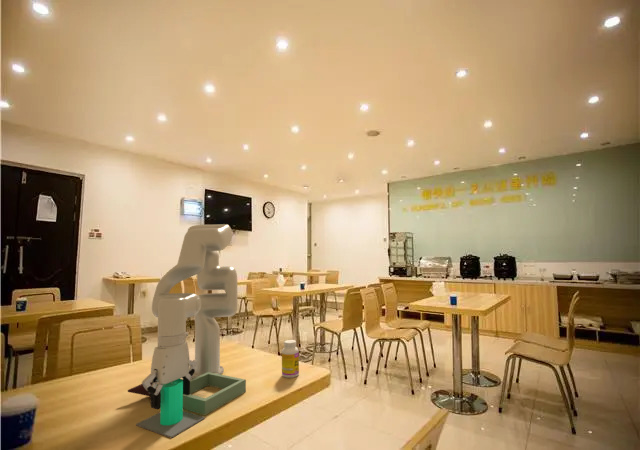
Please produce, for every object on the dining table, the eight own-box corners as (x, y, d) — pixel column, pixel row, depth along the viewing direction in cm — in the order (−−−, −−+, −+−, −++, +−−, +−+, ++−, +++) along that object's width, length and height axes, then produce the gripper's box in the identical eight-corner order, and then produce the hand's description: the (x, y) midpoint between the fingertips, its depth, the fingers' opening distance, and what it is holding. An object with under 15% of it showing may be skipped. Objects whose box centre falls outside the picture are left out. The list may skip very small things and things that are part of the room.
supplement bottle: (296, 378, 122) (295, 343, 123) (279, 378, 123) (279, 343, 124) (301, 372, 128) (300, 339, 129) (285, 371, 130) (284, 338, 131)
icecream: (128, 387, 102) (179, 381, 109) (129, 374, 109) (177, 369, 116) (125, 408, 103) (176, 400, 110) (126, 393, 109) (175, 387, 116)
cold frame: (165, 403, 104) (165, 390, 105) (208, 383, 120) (208, 371, 120) (205, 415, 96) (205, 401, 96) (245, 391, 112) (245, 379, 112)
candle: (187, 416, 95) (187, 373, 96) (171, 426, 89) (172, 381, 90) (171, 413, 97) (171, 372, 98) (154, 423, 91) (155, 379, 92)
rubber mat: (136, 425, 91) (136, 423, 91) (170, 408, 101) (170, 407, 101) (171, 438, 84) (171, 436, 84) (204, 418, 94) (204, 417, 94)
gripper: (187, 332, 104) (187, 387, 102) (135, 346, 89) (133, 411, 87) (204, 334, 100) (204, 391, 99) (152, 349, 85) (151, 417, 84)
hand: (171, 400), depth 93 cm, fingers open, 9 cm apart
